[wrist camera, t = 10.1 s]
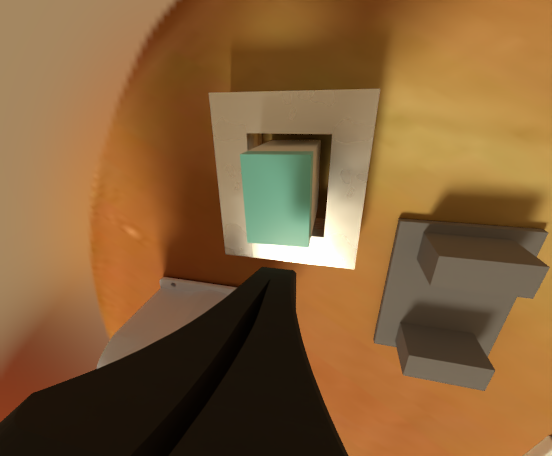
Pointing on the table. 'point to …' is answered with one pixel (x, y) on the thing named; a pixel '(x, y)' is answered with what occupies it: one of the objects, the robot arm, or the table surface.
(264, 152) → the plug
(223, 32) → the table surface
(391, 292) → the holster
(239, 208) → the port
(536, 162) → the table surface
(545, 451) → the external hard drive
